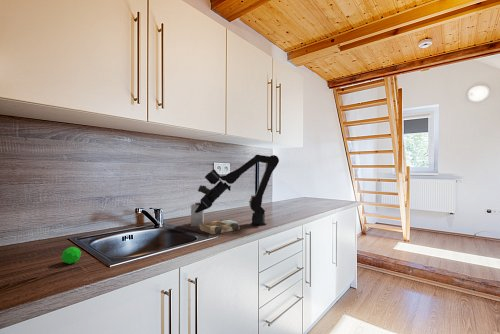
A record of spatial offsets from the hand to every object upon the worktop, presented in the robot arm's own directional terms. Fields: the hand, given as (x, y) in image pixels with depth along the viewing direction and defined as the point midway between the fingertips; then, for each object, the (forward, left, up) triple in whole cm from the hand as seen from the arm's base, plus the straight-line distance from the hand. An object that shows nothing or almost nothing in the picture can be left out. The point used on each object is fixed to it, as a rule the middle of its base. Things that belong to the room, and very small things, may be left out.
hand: (196, 211), depth 133 cm
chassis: (-4, +16, -7) cm, 19 cm away
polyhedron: (+57, +24, -8) cm, 62 cm away
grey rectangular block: (0, 0, -7) cm, 8 cm away
